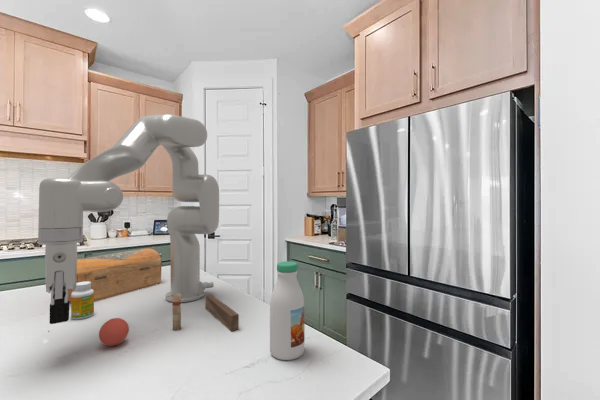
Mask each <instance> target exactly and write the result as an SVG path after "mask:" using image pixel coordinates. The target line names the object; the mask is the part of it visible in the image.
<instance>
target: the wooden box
mask: <svg viewBox="0 0 600 400" xmlns="http://www.w3.org/2000/svg"><path fill="white" fill-rule="evenodd" d="M162 263H163V261H162V258H161V256H160V254H159V252H158V251H157V250H156V249H153V248H149V247H146V248H141V249H133V250H126V251H120V252H113V253H107V254H100V255H95V256H89V257H84V258H77V283H78V282H85V281H89V282H91V287H90V289H93V290H94V303H95V302H98V301H102V300H106V299H109V298H113V297H117V296H119V295H123V294H128V293H131V292H135V291H138V289H139V290H142V288H143V289H146V288H149V286H150V287H153V285H154V286H156V284H157V285H160V283H162V265H163V264H162ZM74 291H75V290H72V289H68V301H69V305H71V294H72V292H74Z"/></svg>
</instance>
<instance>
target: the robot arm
mask: <svg viewBox="0 0 600 400" xmlns="http://www.w3.org/2000/svg"><path fill="white" fill-rule="evenodd" d="M207 140H208V130H207V128H206V126H205V125H204V124H203V123H202V122H201V121H200V120H197V119H195V118H189V117H185V116H181V115H176V114H171V113H167V114H166V113H164V114H155V115H154V114H153V115H144V116H142V117H139V118H138V119H137V120H136V121H135V122H133V124H132V125H131V126H130V127H129V128H128V129H127V130H126V132H124V134H123V135H122V136H121V137H120V138H119V139H118V140H117V141H116V143H115V144H113V146H111V147H110V148H107V149H106V150H104V151H102V152H100V153H99V154H98V155H96V156H94V157H92V158H91V159H89V160H86V162H85V163H83V164H81V165H80V166H79V167H78V168H76V170H75V171H74V172H73V173H72V174H71V175H70V176H69V177H68V178H63V177H62V178H58V177H55V178H54V177H52V178H45V179H42V180H41V181H40V183H39V186H38V187H39V188H38V223H37V224H38V226H37V228H38V231H37V232H38V233H37V234H38V235H37V244H38V245H41V246H44V245H45V246H44V247H45V248H44V251H45V253H44V254H45V255H44V263H45V264H44V271H45V272H44V275H45V278H44V279H45V280H44V281H45V291H46V293H48V294H50V304H49V321H48V322H49V324H50V325H54V324H59V323H65V322H68V321H69V319H70V303H69V301H68V289H72V290H74V289H76V285H77V259H78V245H77V244H78V243H83V240H84V236H83V234H84V212H91V213H106V212H107V213H108V212H111V211H114V210H115V209H117V208H119V207H120V205H122V202H123V200H124V199H123V198H124V195H123V194H124V193H123V191H122V188H121V187H120V186H119V185H117V184H116V183H114V182H113V181H112V180H114V179H116V178H119V177H121V176H124V175H127V174H130V173H134V172H135V171H137V170H139V169H141V168H142V167H143V166H144V165H145V164H146V163H147V162H148V160H149V158H150V157H151V156H152V154H154V152H155V151H156V150H157V148H158V147H159V146H160V145H161V146H162V147H163V148H164V150H165V151H166V152H167V154H168V155H169V157H170V159H171V164H172V165H171V166H172V180H171V181H172V185H171V186H172V187H171V189H172V196H173V198H174V200H176V201H178V202H182V203H199V206H195V205H182V206H181V205H179V206H176V207H174V208H171V210H170V211H169V212H168V214H167V217H166V223H167V228H168V232H169V241H170V291H169V292H168V293H166V294H165V300H166V301H167V302H171V303H172V301H173V296H172V295H173V294H181V303H189V302H193V301H196V300H199V299H201V298H203V297H204V296H205V289H212V288H214V287H215V285H214V282H213V281H211V282H208V281H204V282H202V281H200V280H201V276H200V275H201V273H200V272H201V271H200V267H201V265H200V264H201V263H200V260H201V258H200V256H201V254H200V253H201V248H200V247H201V246H200V242H199V239H198V237H197V236H196V235H210V234H211V235H212V234H213V233H215V232H216V230H217V229H218V226H219V222H220V188H219V187H220V186H219V184H218V181H217V179H216V178H215V177H214V175H211V174H199V173H200V172H199V160H198V157H197V155H196V154H195V152H194V151H193V150H192V148H198V147H202V146H203V145H204V144H205V143H206V142H207ZM111 181H112V182H111Z"/></svg>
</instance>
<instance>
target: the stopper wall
mask: <svg viewBox="0 0 600 400" xmlns="http://www.w3.org/2000/svg"><path fill="white" fill-rule="evenodd" d="M205 309H206V310H207V311H208V312H209V313H210V314H211V315H212V316H213V317H215V318H216V319H217V320H218V321H219V322H220V323H221V324H222V325H223V326H225V328H227V329H228V331H230V332H235V331H239V319H240V318H239V313H238V312H236V311H235V310H233V309H232V308H231V307H230V306H228V305H227V304H226V303H224V302H222V300H220V299H219V298H218V297H216V296H214V294H205Z"/></svg>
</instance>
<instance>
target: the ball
mask: <svg viewBox="0 0 600 400" xmlns="http://www.w3.org/2000/svg"><path fill="white" fill-rule="evenodd" d="M129 332H130V326H129V324H128V322H127V320H125V319H124V318H121V317H114V318H111V319H108V320H107V321H105V322H104V323H103V324H102V325H101V327H100V328H99V331H98V338H99V341H100V342H101V343H102V344H103V345H105V346H109V347H110V346H111V347H112V346H117V345H119V344H121V343H122V342H123V341H125V339H126V338H127V337H128V335H129Z"/></svg>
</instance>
